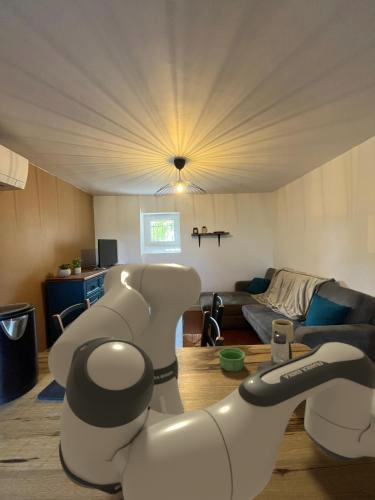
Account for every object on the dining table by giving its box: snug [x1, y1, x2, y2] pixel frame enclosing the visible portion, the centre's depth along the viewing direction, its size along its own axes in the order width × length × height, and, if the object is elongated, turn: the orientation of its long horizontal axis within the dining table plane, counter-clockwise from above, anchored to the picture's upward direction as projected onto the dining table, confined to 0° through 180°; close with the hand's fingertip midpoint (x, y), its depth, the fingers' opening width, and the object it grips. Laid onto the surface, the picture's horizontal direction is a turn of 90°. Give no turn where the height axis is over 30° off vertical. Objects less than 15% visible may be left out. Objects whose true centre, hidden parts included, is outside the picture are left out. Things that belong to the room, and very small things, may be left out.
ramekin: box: [218, 347, 246, 372], centre depth 89 cm, size 9×9×4 cm
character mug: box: [271, 318, 294, 360], centre depth 93 cm, size 11×7×13 cm, turn 2°
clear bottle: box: [270, 333, 290, 366], centre depth 76 cm, size 5×5×11 cm
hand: (297, 359), depth 68 cm, fingers open, 8 cm apart
